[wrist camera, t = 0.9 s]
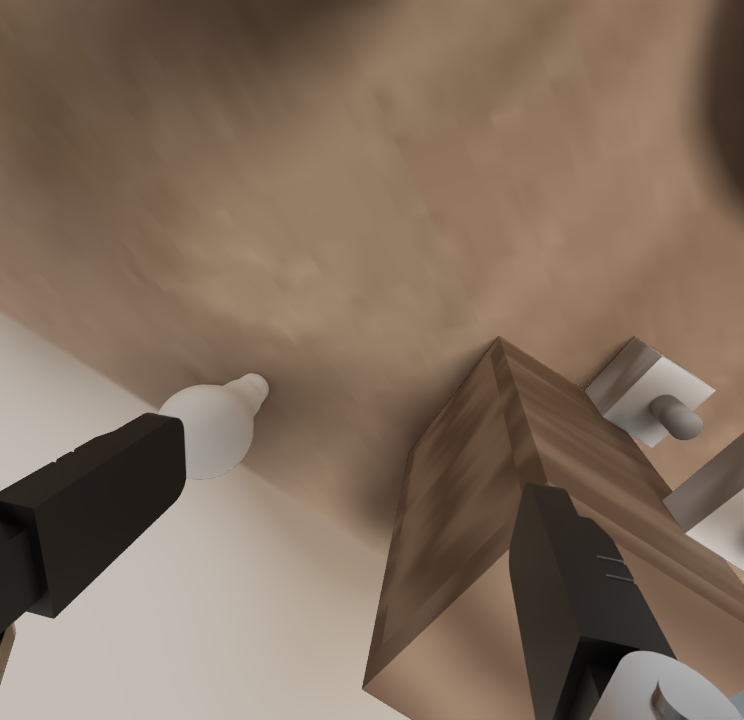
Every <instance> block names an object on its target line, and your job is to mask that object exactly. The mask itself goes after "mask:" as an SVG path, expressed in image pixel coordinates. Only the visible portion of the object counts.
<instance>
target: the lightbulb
mask: <svg viewBox="0 0 744 720" xmlns="http://www.w3.org/2000/svg"><path fill="white" fill-rule="evenodd" d="M268 393H269V386H268V384H267V382H266V380H265V379H264V378H263V377H261V376H260V375H258V374H254V373H250V374H247V375H245V376H243V377H241V378H240V379H238V380H233V381H231V382H229V383H227V384H226V385H223V386H219V385H196V386H191V387H188V388H185V389H183V390H181V391H179V392H177V393H176V394H174V395H173V396H172V397H170V398H169V399H168V400H167V401H166V402H165V403H164V405H163V406H162V407H161V408H160V410H159V412H158V414H159V415H165V416H170V417H176V418H179V419H180V420H181V421H182V422H183V425H184V435H185V456H186V478H189V479H197V480H202V479H211V478H215V477H218V476H220V475H223V474H225V473H226V472H228V471H230V470H231V469H233V468H234V467H236V466H237V465H238V464H239V463H240V462H241V460H242V459H243V458H244V457H245V455H246V454H247V452H248V450H249V448H250V445H251V442H252V439H253V425H254V422H253V418H254V416H255V415H256V413H257V412H258V411H259V409H260V406H261V404H262V402H263V401H264V400H265V398H266V397H267V396H268Z"/></svg>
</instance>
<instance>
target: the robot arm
mask: <svg viewBox="0 0 744 720" xmlns="http://www.w3.org/2000/svg"><path fill="white" fill-rule="evenodd" d="M185 481H186V456H185V435H184V425H183V422H182V421H181V420H180V419H179V418H176V417H170V416H165V415H159V414H154V413H145V414H143V415H142V416H139V417H138V418H136V419H134V420H132V421H131V422H129V423H127V424H125V425H124V426H122V427H120V428H119V429H117V430H115V431H113V432H110V433H107V434H104V435H101V436H98V437H95V438H93V439H92V440H90V441H88V442H86V443H85V444H83V445H81V446H79V447H78V448H76V449H75V450H74V452H69V453H67V454H65V455H63V456H62V457H60V458H58V459H57V461H56V462H51V463H50V464H48V465H46V466H44V467H42V468H40V469H39V470H37V471H35V472H33V473H32V474H30V475H28V476H26V477H25V478H23V479H21V480H19V481H18V482H16V483H14V484H12V485H10V486H9V487H7V488H5V489H3V490H2V491H0V684H1V681H2V678H3V675H4V672H5V668H6V665H7V662H8V659H9V655H10V652H11V649H12V646H13V643H14V640H15V635H16V630H15V625H14V621H15V620H17V619H18V618H19V617H20V616H21V615H22V614H23V613H25V612H26V611H27V612H31V613H34V614H38V615H42V616H45V617H49V618H53V619H54V618H55V617H56V616H57V615H58V614H59V613H60V612H61V611H62V610H64V609H65V608H66V607H67V606H68V605H69V604H70V603H71V602H72V601H73V600H74V599H75V598H76V597H77V596H78V595H79V594H80V593H81V592H82V591H83V590H84V589H85V588H86V587H87V586H88V585H89V584H90V583H91V582H93V581H94V580H95V578H97V577H98V576H99V575H100V574H101V573H102V572H103V571H104V570H105V569H106V568H107V567H108V566H109V565H110V564H111V563H112V562H113V561H114V560H115V559H116V558H117V557H118V556H119V555H120V554H122V553H123V552H124V551H125V550H126V549H127V548H128V547H129V546H130V545H131V544H132V543H133V542H134V541H135V540H136V539H137V538H138V537H139V536H140V535H141V534H142V533H143V532H144V531H145V530H146V529H147V528H148V527H149V526H151V525H152V523H153V522H155V521H156V520H157V519H158V518H159V517H160V516H161V515H162V514H163V513H164V512H165V511H166V510H167V509H168V508H169V507H170V506H171V505H172V504H173V503H174V502H175V501H176V500H177V499H178V497H179V496H180V494H181V492H182V490H183V488H184V485H185ZM509 573H510V579H511V585H512V590H513V596H514V602H515V607H516V613H517V619H518V624H519V630H520V636H521V641H522V647H523V652H524V658H525V664H526V669H527V675H528V681H529V686H530V692H531V698H532V703H533V709H534V715H535V720H744V718H743V717H742V716H741V714H740V713H739V712H738V710H737V709H736V708H735V706H734V705H733V704H732V703H731V702H730V701H729V700H728V698H727V697H726V696H725V695H724V694H723V693H722V692H721V691H720V690H719V689H718V688H717V687H715V686H714V685H713V684H712V683H711V682H709V681H708V680H707V679H706V678H704V677H703V676H702V675H700V674H699V673H698V672H696V671H695V670H693V669H691V668H690V667H688V666H687V665H685V664H683V663H681V662H679V661H678V660H677V658H676V656H675V654H674V652H673V651H672V649H671V647H670V645H669V643H668V641H667V639H666V638H665V636H664V634H663V632H662V630H661V628H660V626H659V625H658V623H657V621H656V619H655V617H654V615H653V613H652V612H651V610H650V608H649V606H648V604H647V602H646V600H645V599H644V597H643V595H642V593H641V591H640V589H639V587H638V585H637V584H634V578H633V576H632V574H631V572H630V571H629V569H628V567H627V565H625V564H624V559H623V558H622V556H621V554H620V552H619V550H618V548H617V546H616V545H615V543H614V541H613V539H612V538H611V537H610V536H609V535H608V534H607V533H606V532H605V531H604V530H603V529H602V528H601V527H600V526H599V525H598V524H597V523H596V522H595V521H594V520H593V519H592V518H587V517H581V516H578V513H577V511H576V509H575V507H574V505H573V503H572V500H571V498H570V496H569V494H568V492H567V490H566V489H564V488H559V487H554V486H548V485H542V484H537V483H531V482H527V483H526V484H525V486H524V489H523V492H522V496H521V500H520V505H519V509H518V513H517V517H516V521H515V525H514V529H513V533H512V537H511V542H510V548H509Z"/></svg>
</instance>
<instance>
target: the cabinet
mask: <svg viewBox="0 0 744 720" xmlns="http://www.w3.org/2000/svg"><path fill="white" fill-rule="evenodd" d="M715 391H716V390H714V389H713V388H711V387H710V386H709V385H707V384H706V383H704V382H703V381H701V380H700V379H699V378H697V377H696V376H694V375H693V374H691V373H690V372H689V371H687V370H686V369H684V368H683V367H681V366H680V365H678V364H677V363H675V362H674V361H672V360H671V359H669V358H667V357H666V356H664V355H663V354H661V353H660V352H658V351H657V350H655V349H653V348H652V347H650V346H649V345H647V344H646V343H644V342H643V341H641V340H639V339H638V338H636V337H634V338H633V339H632V340H631V341H630V342H629V343H628V344H627V345H626V346H625V347H624V348H623V350H622V351H621V352H620V353H619V354H618V355H617V356H616V357H615V358H614V359H613V360H612V361H611V362H610V363H609V364H608V366H607V367H606V368H605V369H604V370H603V371H602V372H601V373H600V374H599V375H598V376H597V377H596V378H595V379H594V381H593V382H592V383H591V384H590V385H589V386H588V387H587V388H586V389H585V390H583V389H581V388H580V387H578V386H577V385H575V384H574V383H572V382H570V381H569V380H567V379H566V378H564V377H563V376H561V375H559V374H558V373H556V372H555V371H553V370H552V369H550V368H548V367H547V366H545V365H544V364H542V363H541V362H539V361H537V360H536V359H534V358H533V357H531V356H530V355H528V354H526V353H525V352H523V351H522V350H520V349H519V348H517V347H515V346H514V345H512V344H511V343H509V342H508V341H506V340H504V339H503V338H501V337H500V336H499V337H498V338H497V340H496V341H495V342H494V344H493V345H492V346H491V347H490V349H489V350H488V351H487V353H486V354H485V355H484V356H483V358H482V359H481V360H480V362H479V363H478V364H477V365H476V367H475V368H474V369H473V371H472V372H471V373H470V375H469V376H468V377H467V378H466V380H465V381H464V382H463V384H462V385H461V386H460V387H459V389H458V390H457V391H456V393H455V394H454V395H453V396H452V398H451V399H450V400H449V402H448V403H447V404H446V405H445V407H444V408H443V409H442V411H441V412H440V413H439V414H438V416H437V417H436V418H435V420H434V421H433V422H432V424H431V425H430V426H429V427H428V429H427V430H426V431H425V433H424V434H423V435H422V436H421V438H420V439H419V440H418V442H417V443H416V444H415V445H414V447H413V448H412V449H411V451H410V452H409V454H408V459H407V464H406V469H405V474H404V479H403V484H402V489H401V494H400V499H399V504H398V509H397V514H396V519H395V524H394V530H393V535H392V540H391V545H390V550H389V555H388V560H387V565H386V570H385V575H384V580H383V585H382V590H381V595H380V600H379V605H378V610H377V615H376V620H375V625H374V631H373V636H372V641H371V646H370V651H369V656H368V661H367V666H366V671H365V677H364V681H363V686H362V689H363V690H364V691H366V692H367V693H369V694H370V695H372V696H374V697H375V698H377V699H379V700H380V701H382V702H383V703H385V704H387V705H388V706H390V707H392V708H393V709H395V710H397V711H398V712H400V713H401V714H403V715H405V716H406V717H408V718H410V719H411V720H535V715H534V709H533V703H532V698H531V692H530V686H529V681H528V675H527V669H526V664H525V658H524V652H523V647H522V641H521V636H520V630H519V624H518V619H517V613H516V607H515V602H514V596H513V590H512V585H511V579H510V573H509V548H510V542H511V537H512V533H513V529H514V525H515V521H516V517H517V513H518V509H519V505H520V500H521V496H522V492H523V489H524V486H525V484H526V483H527V482H531V483H537V484H542V485H548V486H554V487H559V488H564V489H566V490H567V492H568V494H569V496H570V498H571V500H572V503H573V505H574V507H575V509H576V511H577V513H578V516H581V517H587V518H592V519H593V520H594V521H595V522H596V523H597V524H598V525H599V526H600V527H601V528H602V529H603V530H604V531H605V532H606V533H607V534H608V535H609V536H610V537H611V538H612V539H613V541H614V543H615V545H616V546H617V548H618V550H619V552H620V554H621V556H622V558H623V559H624V564H625V565H627V567H628V569H629V571H630V572H631V574H632V576H633V578H634V584H637V585H638V587H639V589H640V591H641V593H642V595H643V597H644V599H645V600H646V602H647V604H648V606H649V608H650V610H651V612H652V613H653V615H654V617H655V619H656V621H657V623H658V625H659V626H660V628H661V630H662V632H663V634H664V636H665V638H666V639H667V641H668V643H669V645H670V647H671V649H672V651H673V652H674V654H675V656H676V658H677V660H678V661H679V662H681V663H683V664H685V665H687V666H688V667H690V668H691V669H693V670H695V671H696V672H698V673H699V674H700V675H702V676H703V677H704V678H706V679H707V680H708V681H709V682H711V683H712V684H713V685H714V686H715V687H717V688H718V689H719V690H720V691H721V692H722V693H723V694H724V695H725V696H726V697H727V698H730V697H732V696H734V695H735V694H737V693H739V692H741V691H743V690H744V585H743V583H742V582H741V581H740V579H739V578H738V577H737V575H736V574H735V573H734V572H733V570H732V569H731V568H730V566H729V565H728V564H727V562H726V561H725V560H724V559H726V560H728V561H729V562H731V563H732V564H734V565H735V566H737V567H739V568H740V569H742V570H743V571H744V433H743V434H741V435H740V436H739V437H738V438H737V439H735V440H734V441H733V442H732V443H731V444H729V445H728V446H727V447H726V448H725V449H723V450H722V451H721V452H720V453H719V454H717V455H716V456H715V457H714V458H713V459H711V460H710V461H709V462H708V463H707V464H705V465H704V466H703V467H702V468H701V469H699V470H698V471H697V472H696V473H695V474H693V475H692V476H691V477H690V478H689V479H687V480H686V481H685V482H684V483H683V484H681V485H680V486H679V487H678V488H677V489H675V490H674V491H673V492H672V490H671V489H670V488H669V486H668V485H667V484H666V482H665V481H664V480H663V479H662V477H661V476H660V475H659V473H658V472H657V471H656V469H655V468H654V467H653V465H652V464H651V463H650V462H649V460H648V459H647V458H646V456H645V455H644V454H643V452H642V451H641V450H640V448H639V447H638V446H637V445H636V443H635V442H634V441H633V439H632V438H631V437H630V435H629V434H631V435H633V436H634V437H636V438H637V439H639V440H640V441H642V442H644V443H645V444H647V445H648V446H650V447H651V448H653V447H654V446H655V445H656V444H657V443H658V442H659V441H661V440H662V439H663V438H664V437H665V436H666V435H667V434H668V433H670V434H671V435H672V436H673V437H675V438H676V439H679V440H689V439H692V438H695V437H696V436H698V435H699V434H700V433H701V431H702V429H703V422H702V420H701V419H700V418H699V417H698V416H697V415H696V414H695V413H694V412H693V411H694V410H695V409H696V408H697V407H698V406H699V405H700V404H701V403H702V402H704V401H705V400H706V399H707V398H708V397H709V396H710V395H711V394H712V393H713V392H715ZM627 432H628V433H629V434H628V433H627Z"/></svg>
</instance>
